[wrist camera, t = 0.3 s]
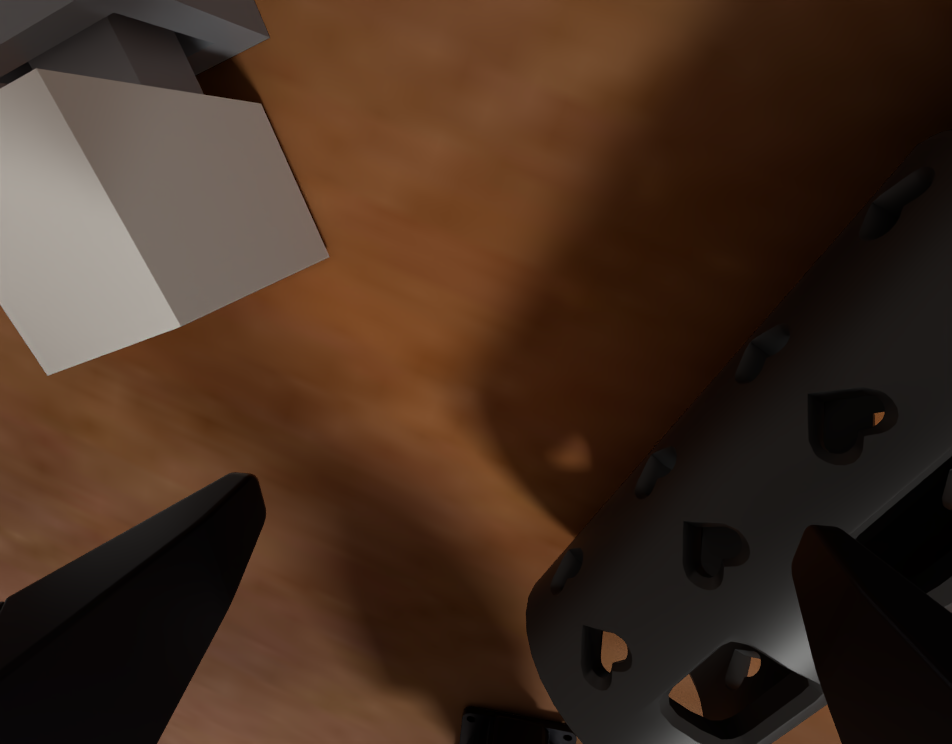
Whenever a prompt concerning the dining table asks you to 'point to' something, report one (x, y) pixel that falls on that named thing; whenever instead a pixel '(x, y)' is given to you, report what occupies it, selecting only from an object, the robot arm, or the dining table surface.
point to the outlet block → (159, 3)
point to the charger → (135, 196)
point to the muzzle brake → (770, 492)
